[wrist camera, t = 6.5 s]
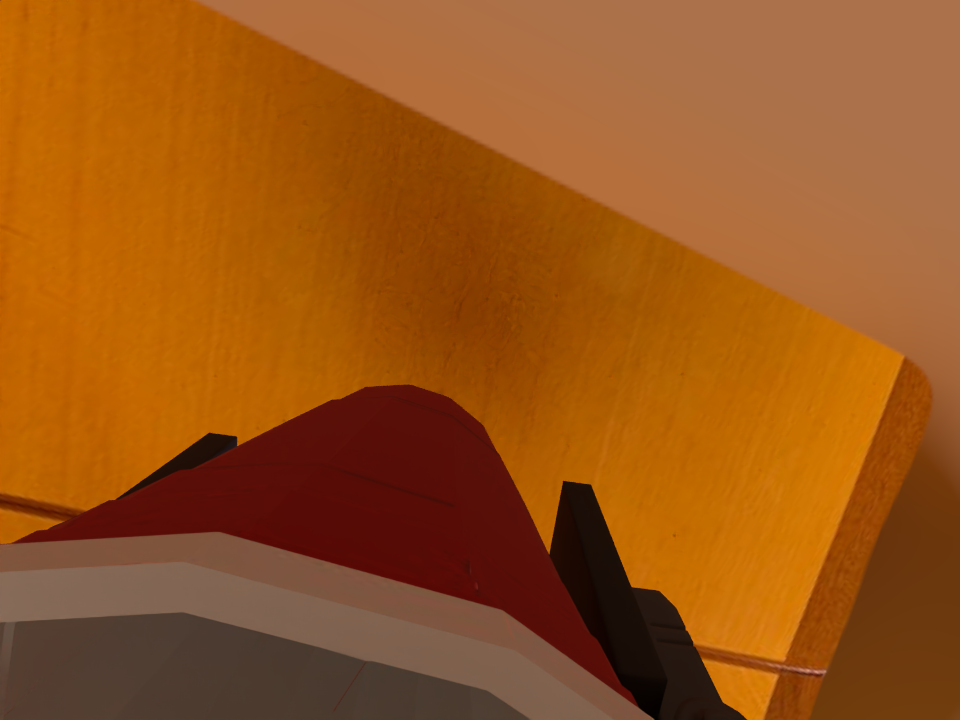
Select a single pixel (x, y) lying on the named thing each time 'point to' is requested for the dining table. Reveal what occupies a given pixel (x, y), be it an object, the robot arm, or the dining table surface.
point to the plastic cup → (307, 586)
